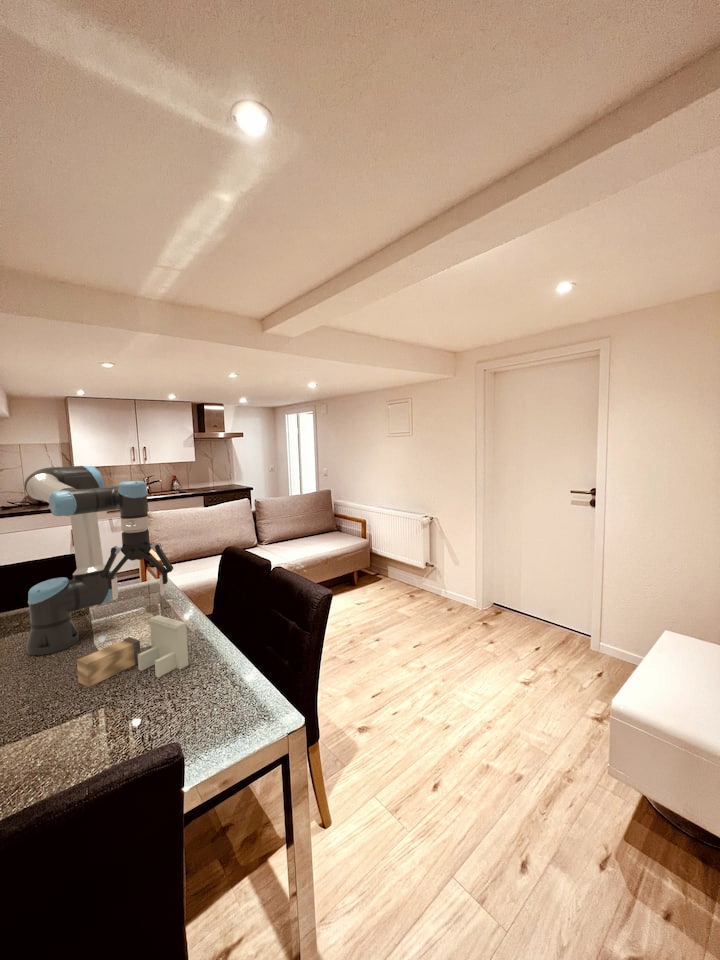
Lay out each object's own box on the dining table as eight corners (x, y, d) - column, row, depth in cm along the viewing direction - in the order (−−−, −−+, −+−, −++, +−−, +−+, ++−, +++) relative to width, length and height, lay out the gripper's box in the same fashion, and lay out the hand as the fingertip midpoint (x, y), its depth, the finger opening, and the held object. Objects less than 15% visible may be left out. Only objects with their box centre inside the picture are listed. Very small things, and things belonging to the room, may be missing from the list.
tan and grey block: (88, 687, 118) (87, 663, 117) (78, 682, 121) (76, 659, 120) (141, 661, 132) (139, 640, 131) (130, 657, 135) (129, 637, 134)
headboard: (134, 668, 128) (131, 625, 127) (160, 655, 136) (158, 615, 135) (162, 679, 121) (160, 634, 120) (188, 665, 129) (185, 622, 128)
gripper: (85, 535, 120) (90, 605, 121) (176, 529, 126) (179, 595, 127) (95, 530, 127) (99, 596, 128) (180, 525, 133) (183, 588, 135)
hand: (139, 596), depth 128 cm, fingers open, 13 cm apart
